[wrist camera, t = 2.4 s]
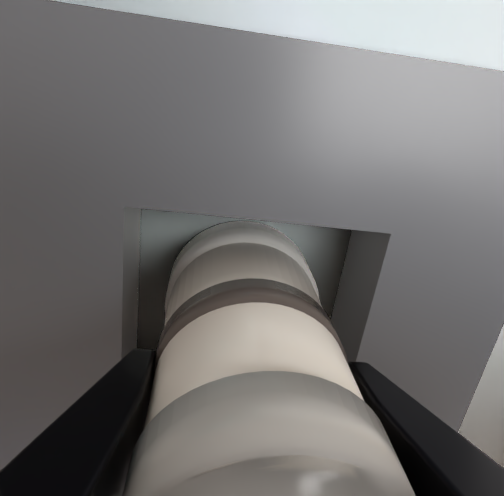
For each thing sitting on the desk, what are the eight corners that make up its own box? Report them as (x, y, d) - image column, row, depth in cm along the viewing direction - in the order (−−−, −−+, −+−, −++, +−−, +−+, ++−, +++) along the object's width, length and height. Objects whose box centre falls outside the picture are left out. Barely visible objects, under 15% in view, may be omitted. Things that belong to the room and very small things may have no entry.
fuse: (321, 228, 11) (471, 454, 5) (296, 349, 12) (382, 649, 6) (174, 213, 11) (108, 440, 4) (165, 340, 12) (107, 656, 6)
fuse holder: (524, 82, 10) (603, 87, 8) (392, 455, 14) (421, 517, 12) (-21, -2, 8) (-95, -23, 6) (23, 442, 13) (-12, 511, 11)
